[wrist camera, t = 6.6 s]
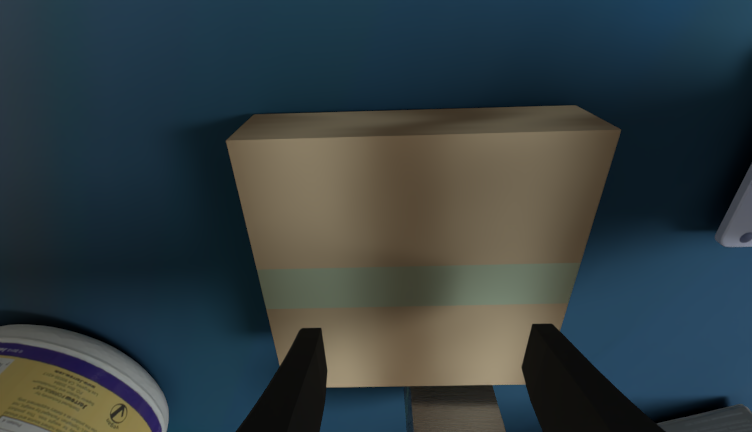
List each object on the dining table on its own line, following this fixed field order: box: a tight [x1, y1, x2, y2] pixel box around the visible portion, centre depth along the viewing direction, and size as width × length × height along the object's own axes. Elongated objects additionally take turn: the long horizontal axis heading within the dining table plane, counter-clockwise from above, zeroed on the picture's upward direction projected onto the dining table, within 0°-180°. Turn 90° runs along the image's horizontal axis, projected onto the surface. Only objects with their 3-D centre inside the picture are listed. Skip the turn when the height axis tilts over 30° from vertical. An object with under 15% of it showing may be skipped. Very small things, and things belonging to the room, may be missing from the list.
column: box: [404, 385, 506, 432], centre depth 18 cm, size 4×4×7 cm
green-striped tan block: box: [226, 105, 621, 387], centre depth 16 cm, size 12×12×3 cm
